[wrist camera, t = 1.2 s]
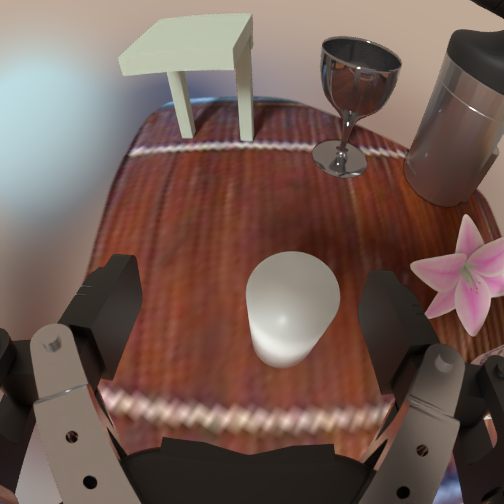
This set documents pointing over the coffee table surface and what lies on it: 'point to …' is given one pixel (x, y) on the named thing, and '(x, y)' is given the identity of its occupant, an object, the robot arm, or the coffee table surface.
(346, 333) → the coffee table surface
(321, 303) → the white plastic cylinder
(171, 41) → the small green stool
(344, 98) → the wine glass
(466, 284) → the lily
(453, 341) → the coffee table surface
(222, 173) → the coffee table surface
